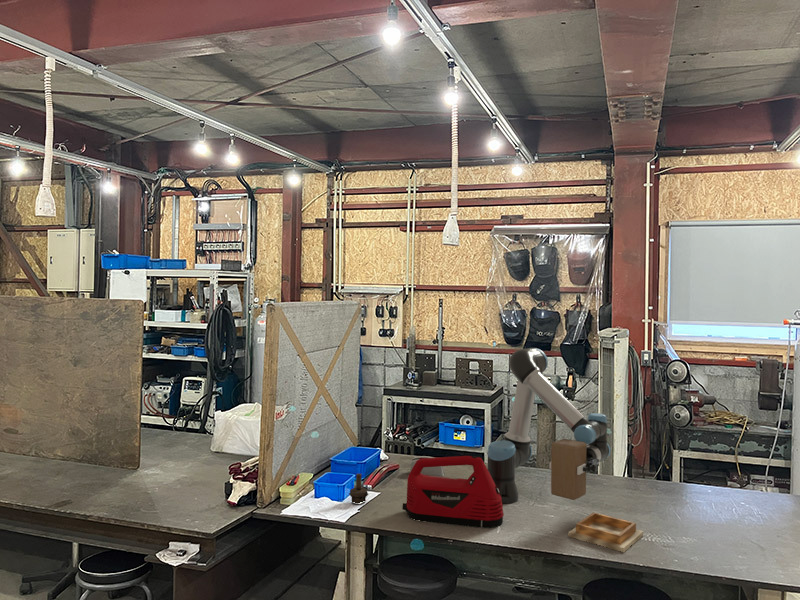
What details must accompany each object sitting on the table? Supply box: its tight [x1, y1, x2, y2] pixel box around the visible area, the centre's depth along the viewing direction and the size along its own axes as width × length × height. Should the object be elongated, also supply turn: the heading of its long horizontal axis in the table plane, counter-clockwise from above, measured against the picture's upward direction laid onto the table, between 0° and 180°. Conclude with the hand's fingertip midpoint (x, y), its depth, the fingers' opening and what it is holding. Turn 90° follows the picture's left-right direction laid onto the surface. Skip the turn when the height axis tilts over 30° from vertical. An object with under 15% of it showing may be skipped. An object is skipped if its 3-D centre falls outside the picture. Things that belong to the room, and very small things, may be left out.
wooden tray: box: [567, 512, 644, 553], centre depth 217 cm, size 20×20×4 cm
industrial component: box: [348, 473, 369, 503], centre depth 247 cm, size 9×7×12 cm
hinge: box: [409, 455, 445, 477], centre depth 289 cm, size 17×5×10 cm, turn 77°
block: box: [550, 438, 587, 501], centre depth 225 cm, size 10×10×20 cm
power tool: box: [401, 455, 505, 529], centre depth 232 cm, size 16×40×25 cm, turn 75°
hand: (564, 468), depth 221 cm, fingers closed on block, 10 cm apart
